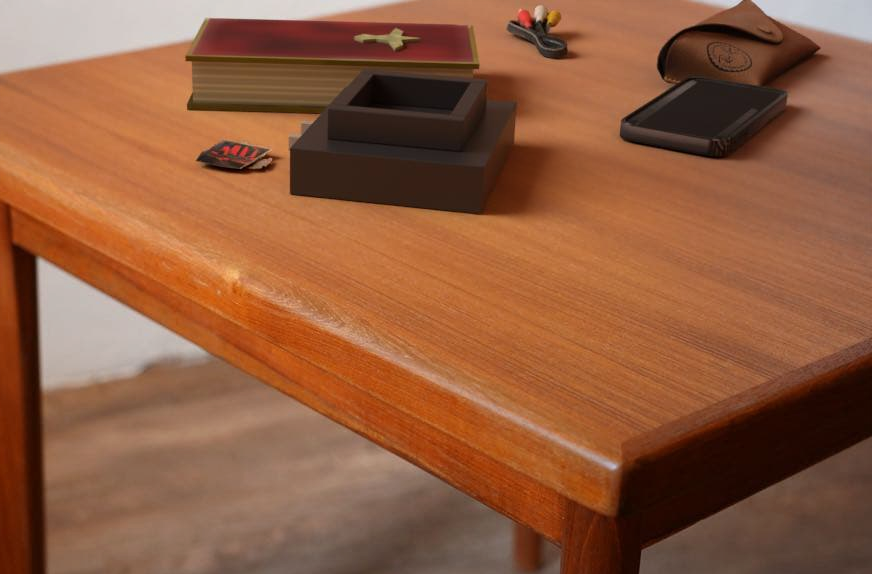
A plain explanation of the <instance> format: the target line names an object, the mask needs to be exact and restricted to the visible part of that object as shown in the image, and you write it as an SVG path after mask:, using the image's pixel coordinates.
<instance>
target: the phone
mask: <svg viewBox="0 0 872 574" xmlns="http://www.w3.org/2000/svg"><path fill="white" fill-rule="evenodd" d="M788 96H789V93H788V91H786V90H783V89H781V88H774V87H769V86H757V85H751V84H745V83H739V82H733V81H727V80H720V79H713V78H706V77H699V76H693V77H688V78H686V79H684V80H682V81H681V82H679V83H678V84H674V85H673V86H671V87H670V88H668V89H666V90H665V91H663V92H661V93H660V94H659V95H657V96H656V97H654V98H652V99H651V100H649V101H648V102H646V103H644V104H643V105H641V106H640V107H638V108H637V109H635V110H634V111H632V112H631V113H629V114H627V115H626V116H624V117H622V119H621V120H620V127H619V137H620V138H621V139H622V140H625V141H628V142H633V143H639V144H645V145H649V146H654V147H660V148H666V149H670V150H675V151H679V152H686V153H690V154H691V153H692V154H696V155H701V156H708V157H726V156H728V155H730V154H731V153H732V152H733V151H735V150H736V149H738V148H739V147H740V146H741V145H742V144H743V143H745V142H746V141H748V140H749V139H750V138H751V137H752V136H753V135H755V134H756V133H758V132H759V131H760V130H761V129H763V127H765V126H766V125H767V124H768V123H770V122H771V121H772V120H774V119H775V118H776V117H777V116H779V115H780V114H781V113H782V112H783V111H785V110H786V108H787V102H788Z"/></svg>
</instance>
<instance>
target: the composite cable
mask: <svg viewBox="0 0 872 574" xmlns="http://www.w3.org/2000/svg"><path fill="white" fill-rule="evenodd" d="M516 15H517V16H516V18H517V20H516V19H514V20H513V19H511V20H508V23H507V26H506V28H505V29H506V31H507V32H509V33H510V34H513V35H515V36H518V37H520V38H523V39H525V40H528V41H529V42H531V43H532V44H534V45H535V47H536V49H537V51H538V53H539V54H541V56H544V57H546V58H549V59H560V58H564V57H565V56H567V55H568V54H569V50H568V42H567V41H566V40H565V39H563V38H561V37H557V36H553V35H550V34H549V32H550V30H551V29H552V28H555V27H557V26H558V24H559V23H560V21H561V20H562V14H561V12H560V11H558V10H556V9H555V10H551V11H548V8H547V7H546V6H545V5H543V4H540V5H537V6H536V7H535V8H534V12H533V17H532V16H531V14H530V12H529V10H527V9H523V8H519V9H518V12H517V14H516Z"/></svg>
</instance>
